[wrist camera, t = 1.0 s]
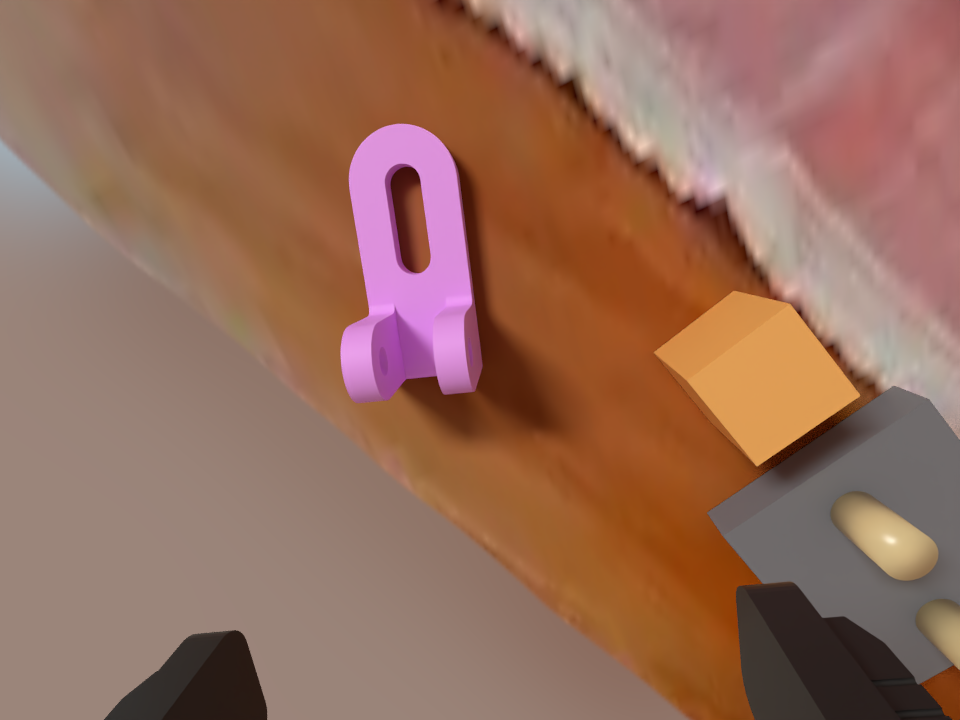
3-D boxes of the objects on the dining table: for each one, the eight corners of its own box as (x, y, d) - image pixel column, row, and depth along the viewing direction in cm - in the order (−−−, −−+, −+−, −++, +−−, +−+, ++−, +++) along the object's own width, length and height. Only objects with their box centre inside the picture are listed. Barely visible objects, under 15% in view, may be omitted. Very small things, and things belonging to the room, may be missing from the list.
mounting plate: (894, 385, 28) (1000, 427, 22) (1032, 568, 30) (1168, 655, 24) (706, 512, 31) (754, 582, 25) (844, 675, 33) (922, 780, 26)
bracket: (482, 365, 30) (472, 401, 23) (387, 375, 31) (349, 413, 24) (452, 122, 27) (430, 83, 21) (348, 137, 28) (293, 104, 21)
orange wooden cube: (733, 290, 28) (790, 303, 22) (791, 364, 29) (860, 395, 23) (653, 352, 29) (686, 380, 23) (710, 422, 30) (757, 466, 24)
